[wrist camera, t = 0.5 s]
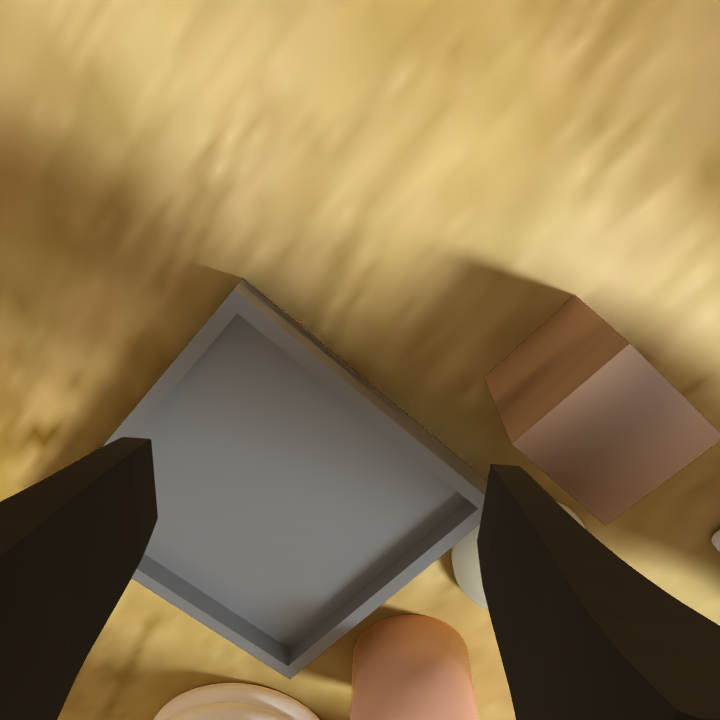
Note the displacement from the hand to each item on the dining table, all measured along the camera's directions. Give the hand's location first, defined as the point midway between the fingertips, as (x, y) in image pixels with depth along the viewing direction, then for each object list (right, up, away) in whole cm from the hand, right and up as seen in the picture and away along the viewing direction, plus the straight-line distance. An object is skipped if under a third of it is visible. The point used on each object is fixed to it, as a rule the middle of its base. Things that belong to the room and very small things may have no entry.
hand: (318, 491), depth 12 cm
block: (+9, +2, +10) cm, 13 cm away
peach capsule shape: (+3, -12, +16) cm, 20 cm away
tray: (-3, -3, +12) cm, 13 cm away
